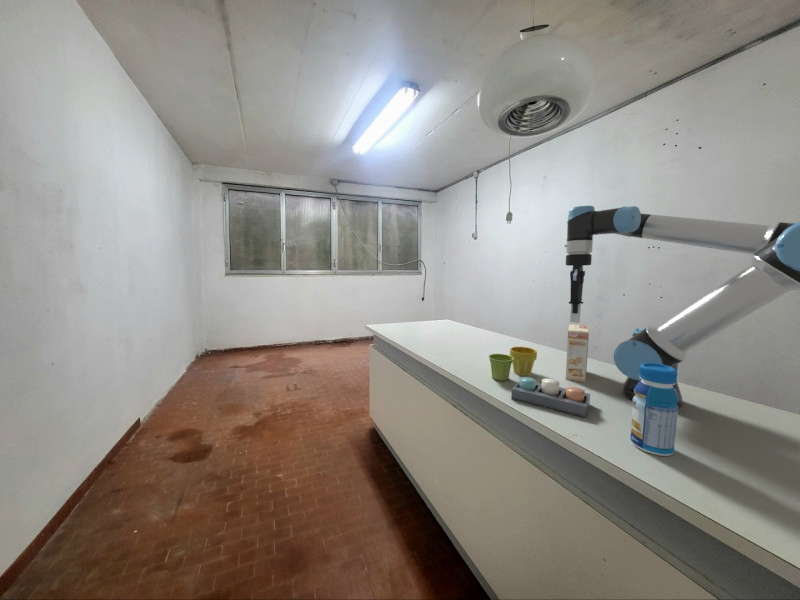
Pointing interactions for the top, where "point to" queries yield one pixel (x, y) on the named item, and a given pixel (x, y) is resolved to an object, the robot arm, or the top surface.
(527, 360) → the plant pot
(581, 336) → the coffeecake box
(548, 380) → the cream egg
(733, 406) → the top surface
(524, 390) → the egg display tray
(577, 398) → the terracotta egg
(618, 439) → the top surface
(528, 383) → the teal egg
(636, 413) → the beverage bottle
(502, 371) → the plant pot
